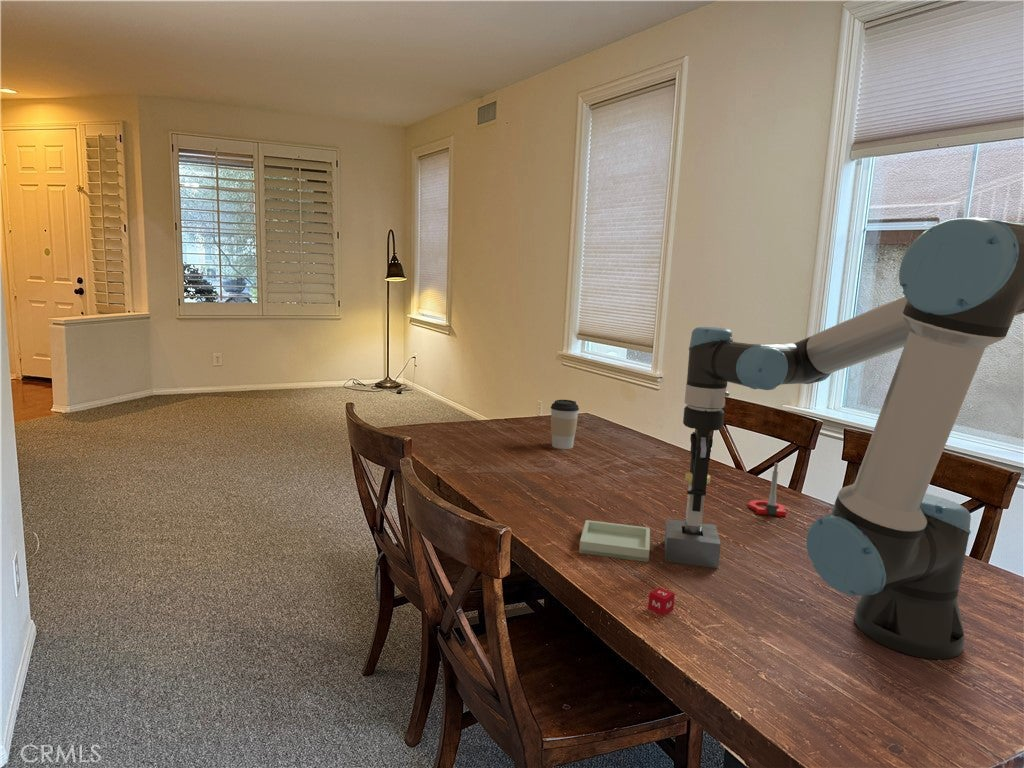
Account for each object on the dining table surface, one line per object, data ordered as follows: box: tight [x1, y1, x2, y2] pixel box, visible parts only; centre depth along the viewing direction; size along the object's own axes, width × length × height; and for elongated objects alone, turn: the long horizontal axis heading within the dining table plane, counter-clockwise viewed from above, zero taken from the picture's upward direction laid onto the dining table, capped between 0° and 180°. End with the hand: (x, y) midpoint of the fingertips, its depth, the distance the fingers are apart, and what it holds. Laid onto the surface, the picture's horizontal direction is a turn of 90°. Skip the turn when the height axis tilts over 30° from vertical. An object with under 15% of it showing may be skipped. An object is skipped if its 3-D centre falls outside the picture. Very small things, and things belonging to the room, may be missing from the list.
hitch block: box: [663, 518, 722, 569], centre depth 130 cm, size 10×10×5 cm
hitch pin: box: [684, 471, 711, 536], centre depth 129 cm, size 5×5×16 cm
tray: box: [578, 519, 651, 563], centre depth 133 cm, size 12×14×2 cm
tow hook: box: [748, 462, 787, 517], centre depth 158 cm, size 8×13×9 cm
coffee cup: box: [550, 399, 580, 450], centre depth 206 cm, size 9×9×15 cm
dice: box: [647, 586, 676, 616], centre depth 109 cm, size 3×3×3 cm
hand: (693, 521), depth 130 cm, fingers closed on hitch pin, 3 cm apart
